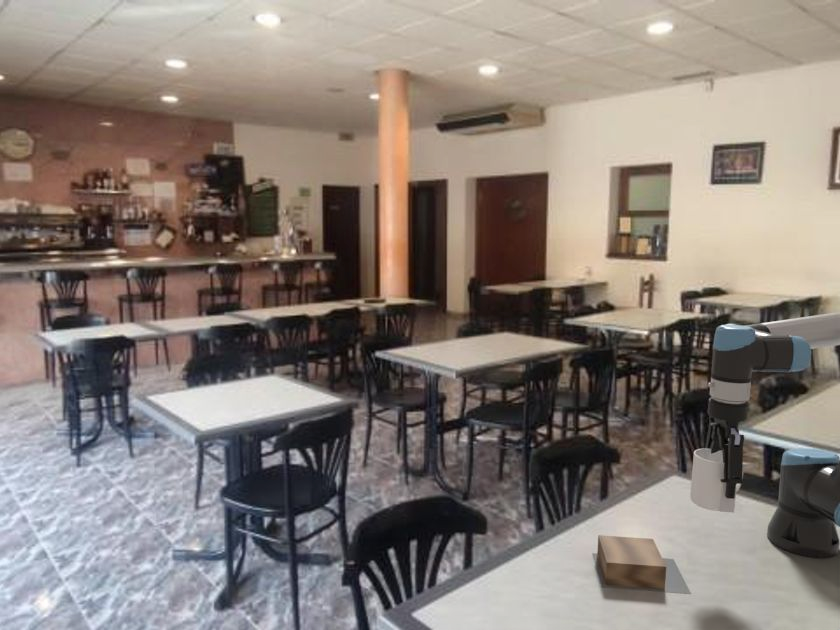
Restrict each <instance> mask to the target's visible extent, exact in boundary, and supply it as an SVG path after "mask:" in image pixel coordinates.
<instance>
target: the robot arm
mask: <svg viewBox="0 0 840 630" xmlns="http://www.w3.org/2000/svg"><path fill="white" fill-rule="evenodd" d="M834 346H836V347H837V346H840V311H839V312H831V313H825V314H816V315H810V316H804V317H797V318H789V319H782V320H776V321H775V320H774V321H769V322H767V321H766V322H761V323H752V324H746V325H742V324H739V323H727V324H726V323H725V324H721V325H718V326H717V327H716V329H715V334H714V338H713V344H712V362H711V372H710V373H711V374H710V382H708V383H707V387H709V396H711V397H709V399H708V404H707V406H708V407H707V414H708V416H709V417H708V419H709V420H708V421H709V422H708V430H707V437H706V442H705V447H704V449H711V454H712V453H715V452H718V451H720V450H722V454H723V463H724V479H720V480H721V482H722V486H721V496H720V506H719V510H720V511H719V512H721V513H722V512H723V513H735V509H736V498H737V497H736V496H737V492H736V488H737V484H741V485H742V484H743V479H742V474H743V475H744V469H743V465H744V461H743V460H744V442H745V435H744V434H740V431H739V425H738V424H739V423H741V422H744V421H746V420H748V415H749V414H748V413H749V403H748V402H747V401H749V400H750V397H751V396H750V395H751V386H752V383H751V382H752V374H753V373H755V372H756V373H757V372H758V373H759V372H761V373H762V372H766V373H767V372H768V373H775V372H776V373H781V372H782V373H794V372H801V371H802V372H803V371H804V370H805V369H807V367H809V365H810V362H811V360H812V350H813V349H820V348H828V347H834ZM779 473H780V474H779V475H780V476H779V488H778V489H779V490H778V500H777V507H776V509H775V511H774V513H773V515H772V517H771V519H770V521H769V522H768V525H767V531H766V532H767V533H766V536H767V538H768V540H769V541H770V542H771V543H773V544H774V545H775V546H777V547H779V548H781V549H783V550H784V551H785V550H786V551H787V552H789V553H794V554H797V555H800V556H804V557H810V558H825V559H826V558H832V557H835V556H837V555H838V554H839V553H840V552H839V551H840V537H839V534H838V530H837V527H836V525H837V526H838V527H839V528H840V455H838V454H836V453H834V452H832V451H828V450H822V449H817V448H816V449H815V448H806V447H805V448H803V447H802V448H798V447H797V448H790V449H787V450H786V451H784V452H783V454H782V458H781V463H780V472H779Z"/></svg>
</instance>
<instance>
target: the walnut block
mask: <svg viewBox="0 0 840 630" xmlns="http://www.w3.org/2000/svg"><path fill="white" fill-rule="evenodd" d="M596 554H597V556H598V560H599V563H600V567H601V570H602V574H603V577H604V581H605V584H606V585H617V586H630V587H643V588H656V589H665V579H666V565H665V563H664V561H663V559H662V558H663V557H662V554H661V553H660V551H659V549H658V546H657V544H656V542H655V540H654V538H646V537H645V538H644V537H643V538H642V537H630V536H614V535H601V534H600V535H599V534H598V538H597V553H596Z"/></svg>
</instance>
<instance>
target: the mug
mask: <svg viewBox="0 0 840 630" xmlns="http://www.w3.org/2000/svg"><path fill="white" fill-rule="evenodd" d="M691 470H692V472H691V482H690V493H689V495H690V500H691V502H692V503H693V504H694V505H696V506H697V507H699V508H702V509H705V510H707V511H708V510H709V511H714V512H720V510H719V506H720V496H721V486H722V482H721V480H720V479H724V463H723V454H722V450H720V451H718V452H715V453H712V454H711V449H705V448H698V449H695V450H694V451H693V460H692V469H691ZM743 478H744V473H743V474H742V480H743ZM741 487H742V484H737V488H736V493H737V492H738V491H739V490H740V489H741Z"/></svg>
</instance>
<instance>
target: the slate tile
mask: <svg viewBox="0 0 840 630" xmlns="http://www.w3.org/2000/svg"><path fill="white" fill-rule="evenodd" d="M591 554H592V557H593V558H592V559H593V560H594V566H595V569H596V572H597V576H598V580H599V583H600V587H601V588H605V589H606V588H607V589H608V588H609V589H618V590H619V589H622V590H632V591H633V590H634V591H635V590H636V591H645V592H646V591H647V592H659V593H673V594H684V595H685V594H686V595H692V592H691V591H690V588H689V587H688V584H687V583H686V581H685V579H684V577H683V574H682V573H681V571H680V569H679V567H678V564H676V561H675V559H674V558H664V557H662V559H663V561H664V563H665V565H666V579H665V589H656V588H643V587H630V586H617V585H606V584H605V581H604V577H603V574H602V570H601V567H600V563H599V560H598V556H597V553H595V552H593V553H591Z"/></svg>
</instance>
